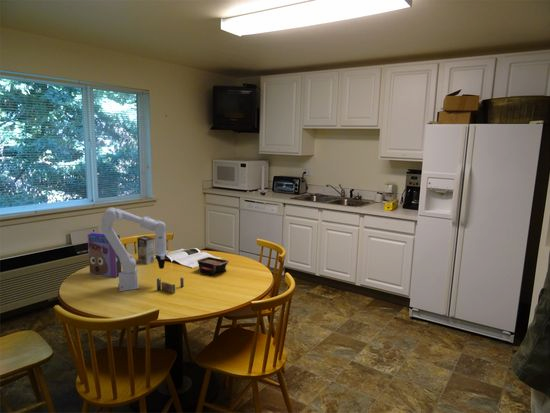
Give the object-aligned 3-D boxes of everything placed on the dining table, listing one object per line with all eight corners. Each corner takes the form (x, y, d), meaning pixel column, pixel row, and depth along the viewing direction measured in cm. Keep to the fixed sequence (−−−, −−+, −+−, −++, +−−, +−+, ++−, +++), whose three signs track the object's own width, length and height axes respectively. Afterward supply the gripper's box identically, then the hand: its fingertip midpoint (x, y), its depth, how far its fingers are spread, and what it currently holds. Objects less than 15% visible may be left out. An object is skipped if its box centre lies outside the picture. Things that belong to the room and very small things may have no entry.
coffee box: (137, 261, 242) (136, 237, 239) (145, 259, 247) (144, 235, 245) (147, 264, 237) (146, 240, 234) (155, 262, 243) (154, 237, 240)
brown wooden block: (161, 289, 198) (161, 281, 197) (163, 288, 199) (163, 280, 198) (172, 293, 193) (172, 285, 193) (175, 292, 195) (175, 284, 194)
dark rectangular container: (212, 269, 238) (209, 253, 237) (233, 270, 228) (230, 254, 226) (195, 277, 226) (192, 261, 225) (217, 279, 216) (214, 262, 215)
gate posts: (157, 290, 197) (156, 280, 196) (156, 289, 199) (156, 278, 197) (183, 287, 202) (183, 276, 201) (183, 286, 204) (183, 275, 203)
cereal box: (90, 274, 218) (87, 234, 214) (95, 271, 222) (93, 232, 218) (116, 277, 214) (114, 236, 210) (121, 274, 218) (119, 234, 214)
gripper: (170, 246, 196) (171, 271, 199) (166, 240, 209) (167, 263, 212) (156, 248, 194) (157, 273, 196) (153, 241, 207) (154, 264, 209)
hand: (161, 268), depth 204 cm, fingers closed
